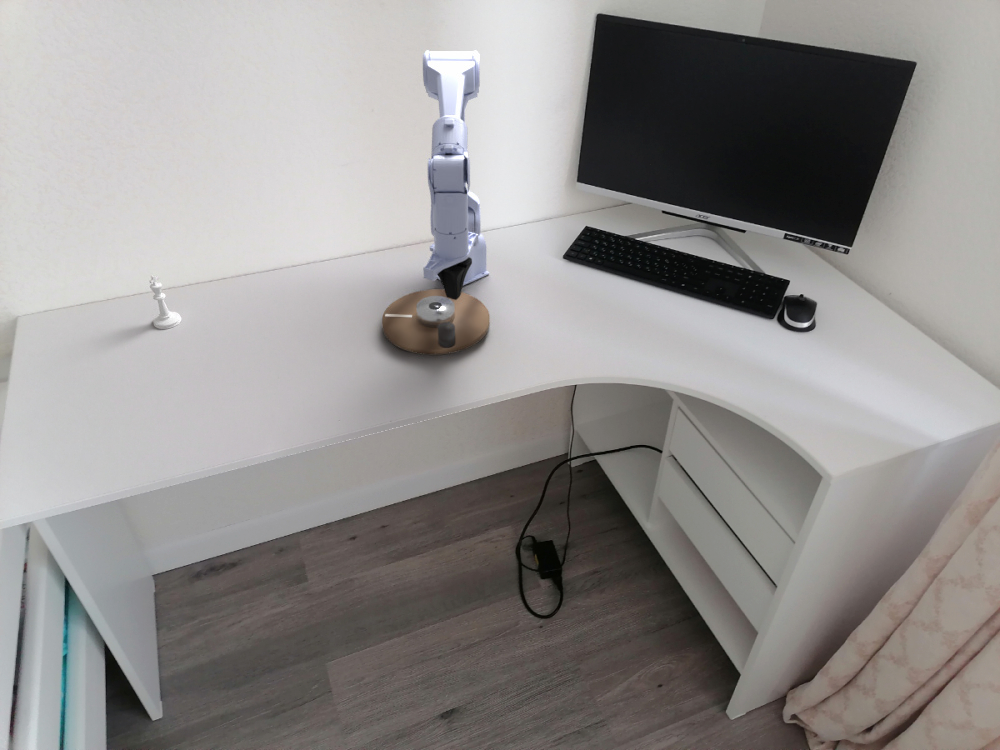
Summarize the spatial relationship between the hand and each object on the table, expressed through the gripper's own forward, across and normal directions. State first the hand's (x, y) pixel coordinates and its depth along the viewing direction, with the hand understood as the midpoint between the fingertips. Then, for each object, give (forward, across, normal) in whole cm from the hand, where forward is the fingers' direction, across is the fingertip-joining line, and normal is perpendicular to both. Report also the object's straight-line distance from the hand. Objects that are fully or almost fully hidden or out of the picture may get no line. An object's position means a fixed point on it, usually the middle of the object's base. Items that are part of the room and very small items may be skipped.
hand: (453, 296), depth 129 cm
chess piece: (+10, +22, -50) cm, 56 cm away
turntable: (+8, -2, -5) cm, 10 cm away
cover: (+7, -2, -5) cm, 9 cm away
